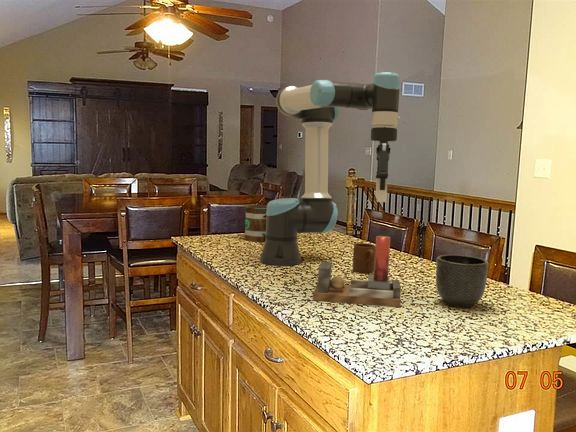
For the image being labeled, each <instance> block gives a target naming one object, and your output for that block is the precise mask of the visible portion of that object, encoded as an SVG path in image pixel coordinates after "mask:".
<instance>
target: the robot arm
mask: <svg viewBox="0 0 576 432" xmlns="http://www.w3.org/2000/svg"><path fill="white" fill-rule="evenodd" d="M400 78H401V77H400V75H399V74H398V73H397V72H390V71H387V72H385V71H384V72H383V71H382V72H376V73H375V74H374V75H373V78H372V79H373V80H372V83H360V82H348V81H346V82H345V81H337V80H336V81H335V80H328V79H317V80H314V82H313V83H312V84H310V85H305V86H297V85H296V86H295V85H291V86H286V87H283V88H282V89H280V91H278V92H277V95H276V97H275V104H276V107H277V109H278V111H279V112H280V113H281V114H283V116H286V117H288V118H291V119H299V120H301V125H302V127H303V128H304V129H305V150H304V151H305V157H304V159H305V161H304V163H305V167H304V169H305V170H304V175H305V176H304V177H305V178H304V180H305V181H304V182H305V183H304V194H303V195H302V196H301V197H300V200H299V199H298V198H296V197H290V198H289V197H285V198H277V199H273V200H270V201H269V202H268V203H267V204H266V206H267V212H266V241H265V242H264V243H263V247H262V251H261V253H260V255H259V257H260V259H259V261H260V262H261V263H263V264H266V265H272V266H296V265H298V264H301V262H302V256H301V254H300V248H299V245H298V234H322V233H329V232H331V231H332V230H333V229H334V228H335V226H336V224H337V220H338V217H339V216H338V215H339V210H338V208H337V207H338V206H337V204H336V202H333V200H332V199H333V198H332V196H331V195H330V194H329V192H328V191H329V188H328V187H329V129H330V128H331V127H332V126H333V123H334V121H336V120H337V118H338V116H339V113H340V108H346V109H356V110H359V111H369V110H371V123H370V125H371V127H372V128H371V129H370V130H371V131H370V140H371V141H373V142H379V143H378V146H377V147H376V148H375V149H376V150H375V153H376V160H377V167H376V169H377V171H376V175H375V179H376V181H375V184H376V185H375V199H376V202H377V203H387V198H388V197H387V196H388V178H389V161H390V154H391V147H390V143H389V142H396V141H397V140H398V129H397V128H396V127H397V126H398V120H400V119H401V117H400V115H399V104H400V91H401V90H400V89H401V86H400Z"/></svg>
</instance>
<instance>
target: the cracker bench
mask: <svg viewBox="0 0 576 432" xmlns="http://www.w3.org/2000/svg"><path fill="white" fill-rule="evenodd" d="M317 271H318V274H317V275H318V276H317V284H316V286H315V289H314V291H313V293H312V297H313V298H312V301H318V302H328V303H329V302H331V303H340V304H341V303H343V304H353V305H354V304H355V305H366V306H367V305H369V306H379V307H380V306H381V307H392V308H395V307H396V308H400V307H401V293H402V292H401V291H402V286H401V281H400V280H399V279H392V280H391V281H390V291H388V290H375V289H368V279H367V280H365V279H353V278H350V285H349V284H344V286H343V287H342V288H341V289H333V288H332V287H331V285H330V281H331V279H332V261H321V262H320V264H319V266H318V270H317Z"/></svg>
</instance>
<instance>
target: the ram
mask: <svg viewBox="0 0 576 432" xmlns="http://www.w3.org/2000/svg"><path fill="white" fill-rule="evenodd" d="M390 247H391V236H385V235H376V236H375V263H374V272H373V274H367V275H368V276H367V280H368V289H375V290H388V291H390V282H391V280H390V276H389V266H390V265H389V264H390V249H391V248H390Z"/></svg>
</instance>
